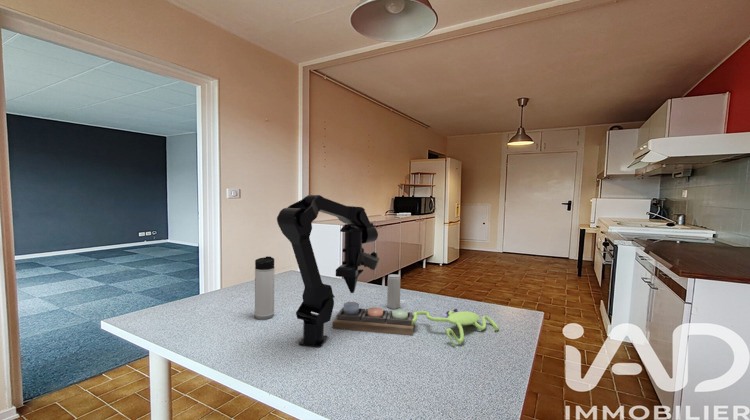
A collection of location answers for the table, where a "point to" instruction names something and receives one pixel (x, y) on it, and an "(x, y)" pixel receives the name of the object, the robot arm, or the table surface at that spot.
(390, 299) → the beverage can
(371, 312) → the terracotta button
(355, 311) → the blue-grey flat rounded piece
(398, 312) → the sage button
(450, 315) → the figurine
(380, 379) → the table surface
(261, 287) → the travel mug
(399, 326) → the button panel
